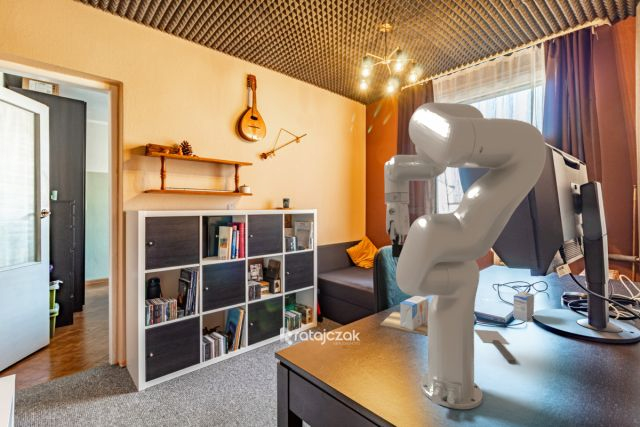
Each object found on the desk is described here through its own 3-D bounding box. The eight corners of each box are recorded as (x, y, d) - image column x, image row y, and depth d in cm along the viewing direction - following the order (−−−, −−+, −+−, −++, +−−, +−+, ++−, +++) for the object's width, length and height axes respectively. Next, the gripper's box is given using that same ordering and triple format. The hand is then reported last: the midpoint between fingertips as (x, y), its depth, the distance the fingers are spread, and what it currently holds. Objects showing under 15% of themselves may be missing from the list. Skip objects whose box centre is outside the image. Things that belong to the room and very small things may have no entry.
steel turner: (527, 364, 77) (527, 361, 77) (497, 362, 79) (497, 358, 79) (497, 332, 98) (497, 329, 98) (474, 330, 99) (474, 327, 99)
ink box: (413, 305, 98) (432, 295, 108) (399, 302, 101) (419, 292, 112) (413, 331, 98) (432, 318, 109) (399, 326, 102) (419, 315, 112)
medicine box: (520, 313, 115) (520, 291, 115) (534, 316, 111) (534, 293, 111) (513, 318, 110) (513, 295, 110) (527, 322, 106) (527, 297, 106)
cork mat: (427, 335, 96) (427, 333, 96) (380, 325, 104) (380, 324, 104) (436, 320, 108) (436, 319, 108) (393, 312, 117) (393, 311, 117)
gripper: (401, 197, 86) (402, 261, 86) (414, 199, 99) (416, 255, 99) (376, 198, 90) (378, 259, 90) (392, 200, 103) (393, 253, 103)
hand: (397, 256), depth 94 cm, fingers closed
